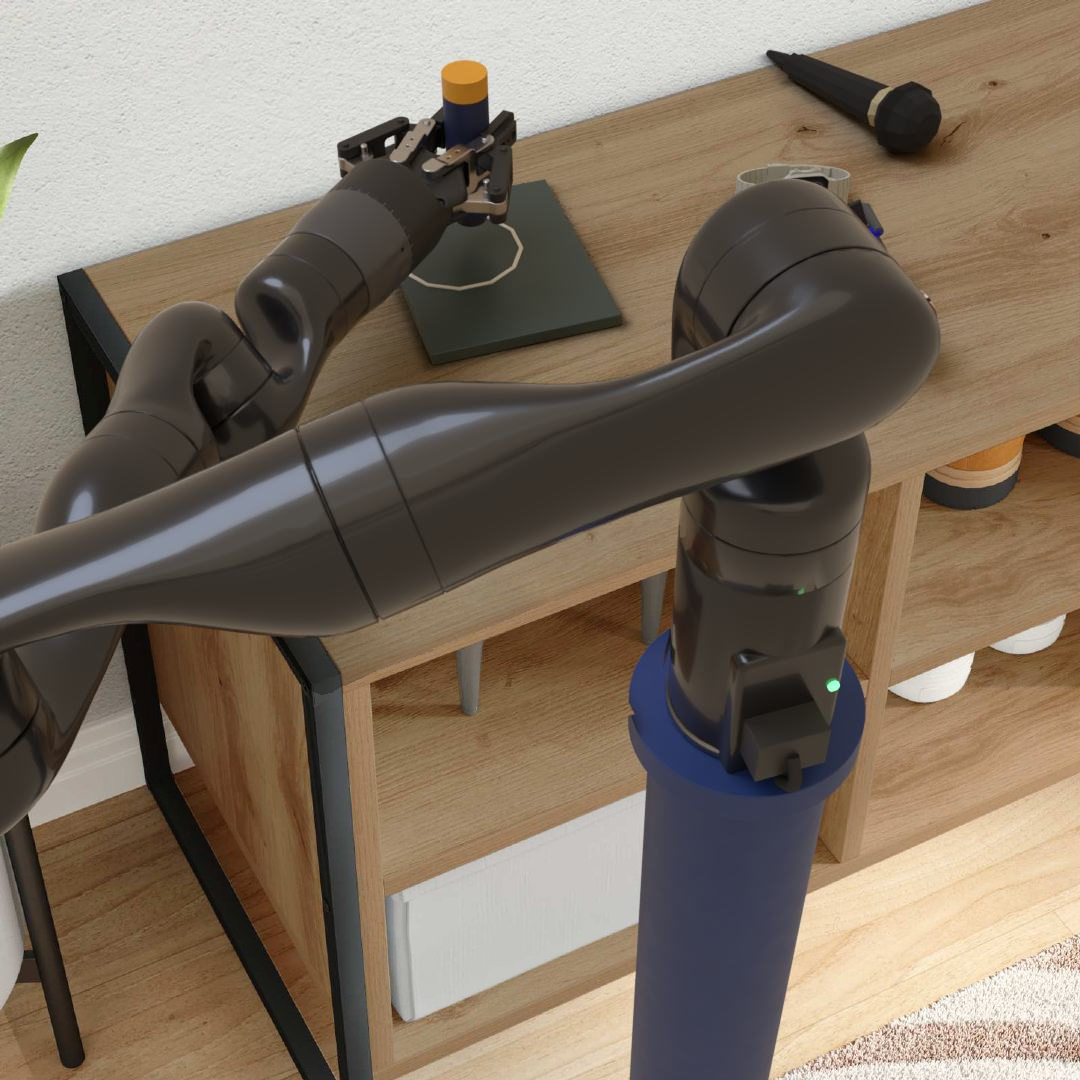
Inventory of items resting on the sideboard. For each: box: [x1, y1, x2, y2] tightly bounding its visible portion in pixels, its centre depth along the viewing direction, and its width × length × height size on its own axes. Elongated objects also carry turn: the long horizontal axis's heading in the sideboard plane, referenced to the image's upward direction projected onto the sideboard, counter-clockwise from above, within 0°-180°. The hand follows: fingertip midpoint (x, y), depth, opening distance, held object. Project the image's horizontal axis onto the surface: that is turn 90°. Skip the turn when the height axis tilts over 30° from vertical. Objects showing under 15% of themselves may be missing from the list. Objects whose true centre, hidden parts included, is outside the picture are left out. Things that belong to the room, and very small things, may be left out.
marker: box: [440, 59, 491, 227], centre depth 113 cm, size 3×3×12 cm
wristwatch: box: [734, 162, 852, 205], centre depth 120 cm, size 9×6×5 cm
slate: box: [399, 178, 622, 366], centre depth 117 cm, size 18×14×1 cm
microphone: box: [765, 49, 943, 155], centre depth 131 cm, size 6×6×20 cm
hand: (486, 116), depth 114 cm, fingers closed on marker, 3 cm apart
